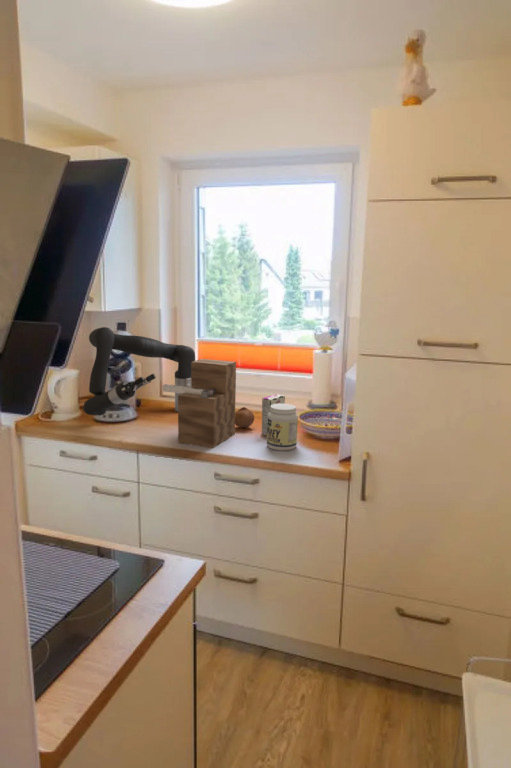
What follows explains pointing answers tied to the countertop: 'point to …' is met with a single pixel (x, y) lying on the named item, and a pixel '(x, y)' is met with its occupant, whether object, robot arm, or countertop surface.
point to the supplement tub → (282, 427)
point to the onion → (244, 417)
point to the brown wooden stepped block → (208, 404)
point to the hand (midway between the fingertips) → (148, 377)
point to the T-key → (190, 390)
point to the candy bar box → (266, 408)
